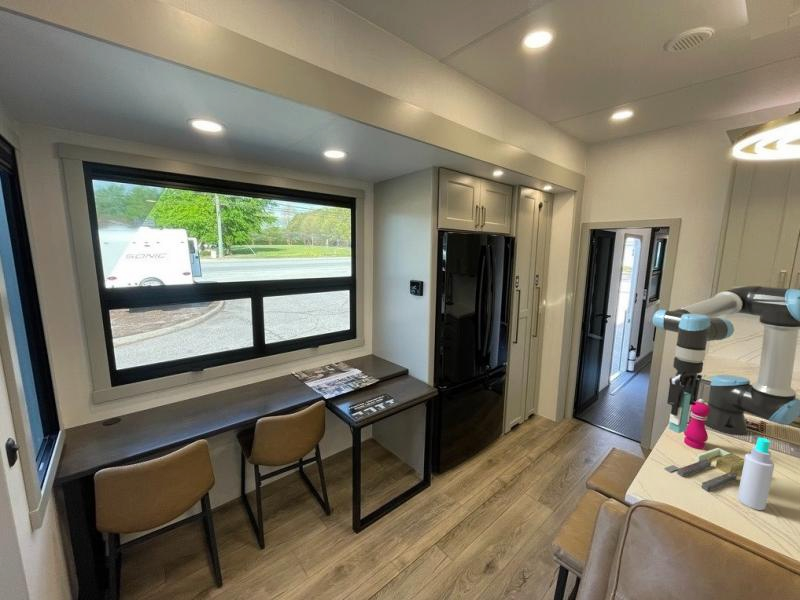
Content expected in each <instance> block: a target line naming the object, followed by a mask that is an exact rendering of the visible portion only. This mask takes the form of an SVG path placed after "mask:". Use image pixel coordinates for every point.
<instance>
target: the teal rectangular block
mask: <svg viewBox="0 0 800 600" xmlns="http://www.w3.org/2000/svg"><path fill="white" fill-rule="evenodd" d="M690 397H691V394H689V393H686V392H685V393H684V396H683V399H682V403H681V406H680V407H682V411H681V417H680V423H679V425H676V424H674V423H672V422H670V421H669V425H668V429H669V430H671V431H673V432H675V433H677V434H680V433H684V431H686V430H687V425H688V424H689V422H688V423H687V416H688V410H689V403H690Z"/></svg>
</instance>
